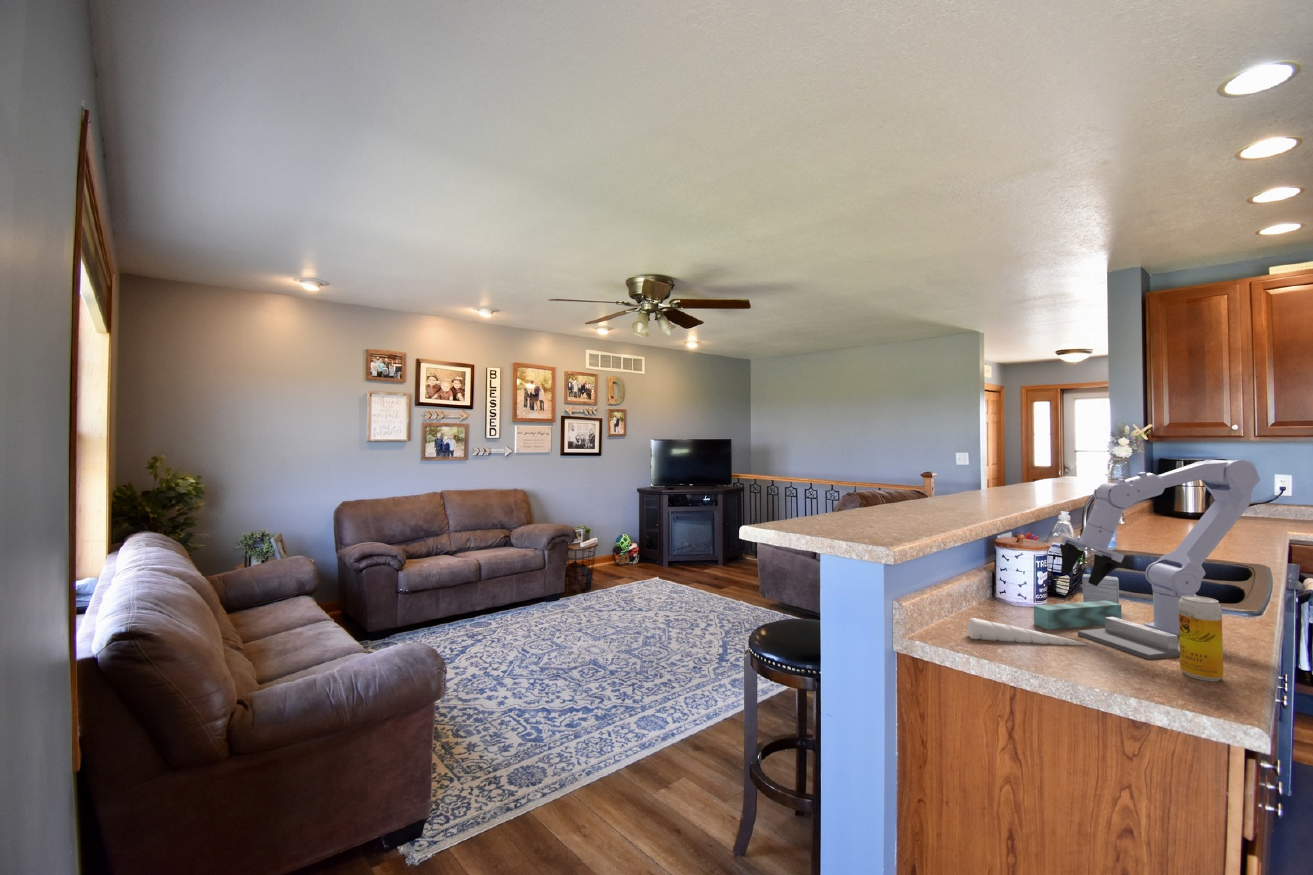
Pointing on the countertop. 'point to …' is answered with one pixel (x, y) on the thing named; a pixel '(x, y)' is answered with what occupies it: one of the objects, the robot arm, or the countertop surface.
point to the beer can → (1201, 637)
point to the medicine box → (1101, 590)
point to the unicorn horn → (1012, 633)
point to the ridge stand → (1135, 639)
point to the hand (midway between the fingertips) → (1078, 579)
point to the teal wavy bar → (1075, 614)
